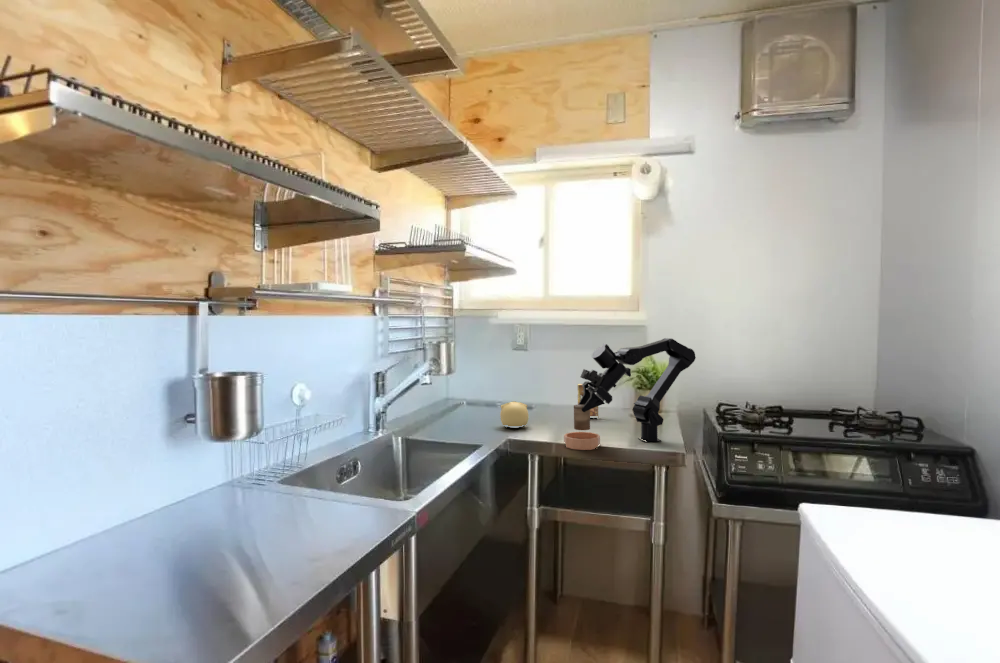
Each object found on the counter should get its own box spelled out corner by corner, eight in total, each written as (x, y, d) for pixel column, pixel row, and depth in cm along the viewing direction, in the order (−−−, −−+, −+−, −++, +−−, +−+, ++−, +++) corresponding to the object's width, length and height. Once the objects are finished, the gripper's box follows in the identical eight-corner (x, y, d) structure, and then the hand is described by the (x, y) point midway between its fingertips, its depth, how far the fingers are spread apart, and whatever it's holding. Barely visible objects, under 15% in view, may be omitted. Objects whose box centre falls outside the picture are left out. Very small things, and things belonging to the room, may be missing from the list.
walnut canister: (592, 429, 178) (591, 406, 178) (576, 430, 177) (575, 407, 177) (587, 426, 184) (587, 404, 183) (572, 427, 183) (572, 404, 183)
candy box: (578, 419, 229) (578, 384, 229) (577, 417, 233) (577, 383, 233) (598, 419, 229) (598, 384, 228) (597, 417, 233) (597, 383, 232)
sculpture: (526, 424, 219) (526, 399, 219) (530, 430, 207) (530, 403, 207) (499, 425, 218) (499, 399, 218) (501, 431, 206) (501, 404, 206)
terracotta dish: (603, 449, 175) (603, 438, 175) (569, 450, 174) (569, 440, 174) (593, 441, 187) (593, 431, 187) (561, 442, 186) (561, 432, 186)
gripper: (587, 359, 190) (557, 390, 189) (602, 363, 171) (570, 397, 170) (608, 380, 191) (579, 411, 190) (626, 386, 172) (594, 420, 171)
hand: (580, 409), depth 180 cm, fingers closed on walnut canister, 5 cm apart
